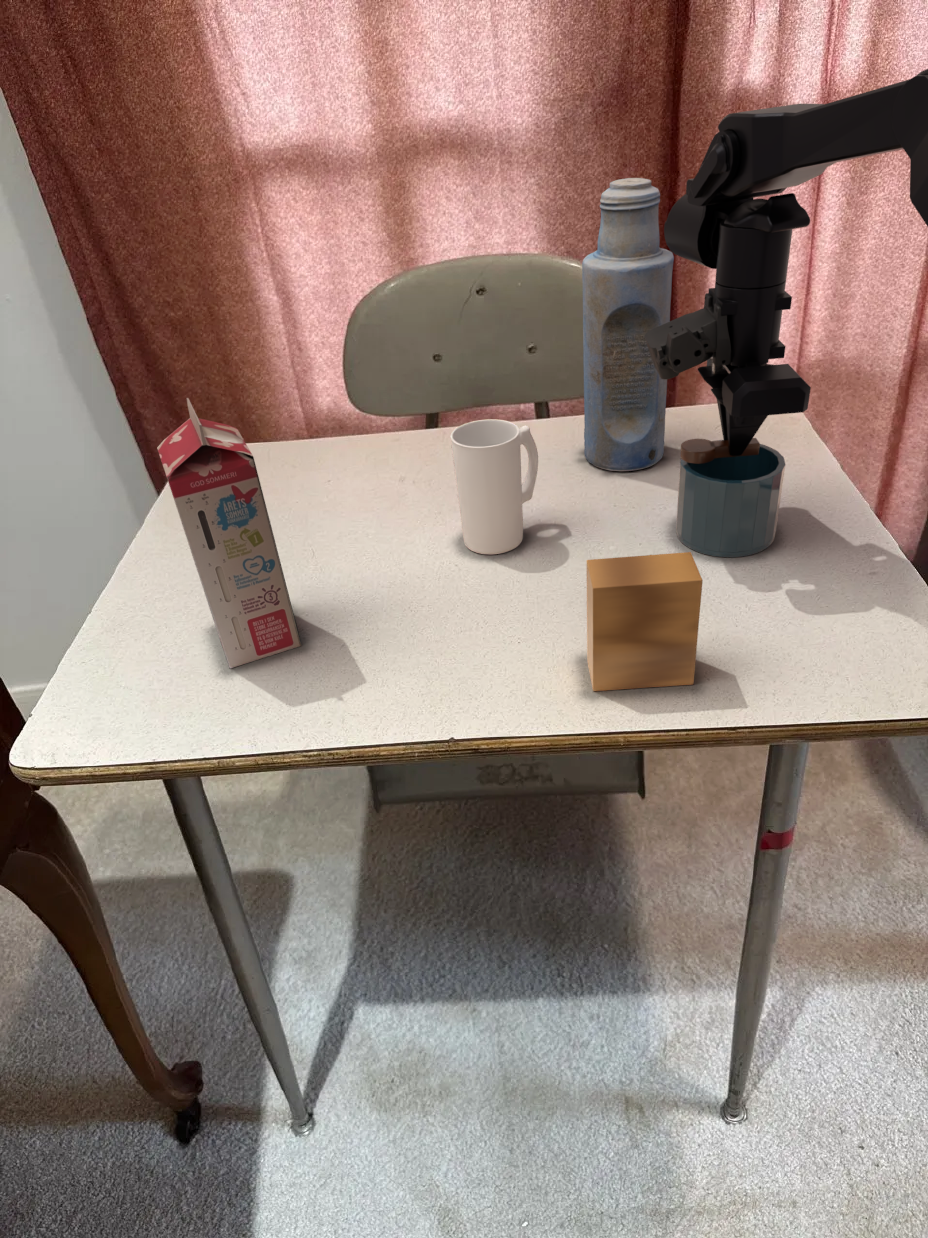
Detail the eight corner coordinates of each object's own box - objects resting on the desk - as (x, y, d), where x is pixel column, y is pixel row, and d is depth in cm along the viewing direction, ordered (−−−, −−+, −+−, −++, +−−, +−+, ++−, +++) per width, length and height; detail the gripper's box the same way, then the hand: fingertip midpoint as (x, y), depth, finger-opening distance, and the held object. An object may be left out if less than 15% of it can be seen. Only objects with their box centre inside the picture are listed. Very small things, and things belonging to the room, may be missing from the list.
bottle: (586, 475, 98) (584, 193, 81) (581, 440, 106) (579, 177, 89) (668, 471, 97) (685, 184, 80) (658, 436, 105) (671, 168, 88)
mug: (489, 564, 84) (480, 453, 77) (448, 541, 89) (436, 434, 82) (561, 526, 89) (558, 420, 82) (519, 506, 93) (513, 403, 87)
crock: (784, 518, 86) (794, 446, 82) (761, 565, 80) (771, 489, 75) (691, 503, 90) (697, 434, 86) (663, 547, 84) (667, 474, 79)
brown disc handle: (752, 445, 81) (753, 433, 80) (761, 458, 79) (762, 447, 78) (677, 451, 82) (677, 439, 81) (684, 465, 79) (684, 453, 78)
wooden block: (683, 654, 70) (691, 551, 64) (693, 684, 67) (703, 579, 61) (587, 660, 70) (586, 559, 65) (592, 691, 67) (592, 588, 61)
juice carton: (284, 609, 81) (226, 388, 68) (301, 645, 76) (242, 414, 63) (216, 630, 79) (144, 407, 66) (229, 668, 74) (153, 435, 61)
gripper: (636, 263, 79) (632, 420, 88) (676, 320, 64) (666, 503, 73) (756, 252, 78) (739, 411, 87) (825, 307, 63) (797, 493, 72)
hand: (733, 451), depth 80 cm, fingers closed on brown disc handle, 1 cm apart
